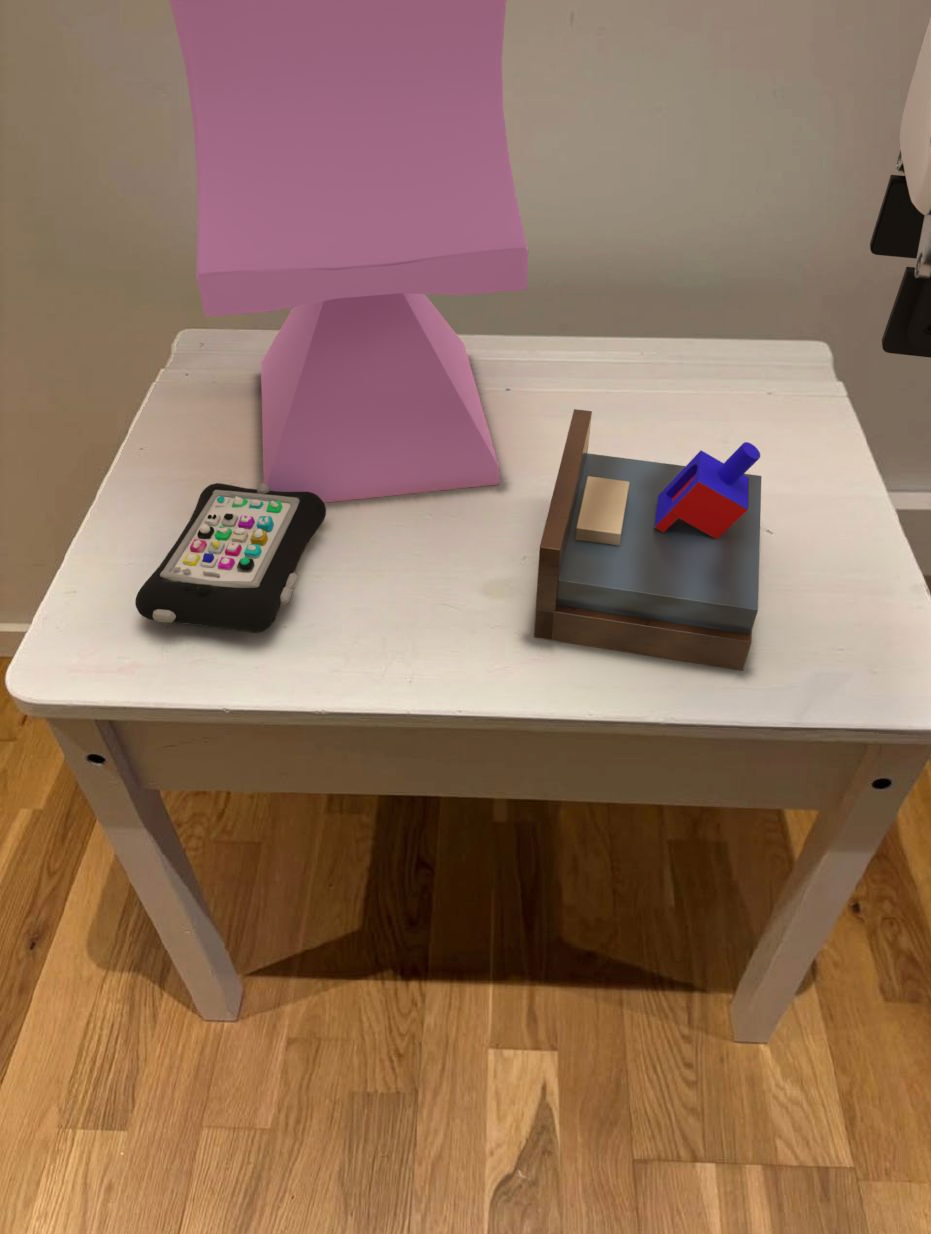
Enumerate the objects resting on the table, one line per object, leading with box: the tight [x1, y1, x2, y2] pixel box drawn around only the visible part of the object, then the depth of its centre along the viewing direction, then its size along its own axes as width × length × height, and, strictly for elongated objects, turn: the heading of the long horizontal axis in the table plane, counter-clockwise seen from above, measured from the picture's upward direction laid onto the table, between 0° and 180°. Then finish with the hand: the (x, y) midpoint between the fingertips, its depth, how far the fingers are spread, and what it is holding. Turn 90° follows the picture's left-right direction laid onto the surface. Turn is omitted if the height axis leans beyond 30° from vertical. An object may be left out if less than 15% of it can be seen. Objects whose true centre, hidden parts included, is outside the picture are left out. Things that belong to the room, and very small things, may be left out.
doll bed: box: [533, 408, 762, 671], centre depth 73 cm, size 15×16×9 cm
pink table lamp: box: [168, 0, 529, 504], centre depth 73 cm, size 22×22×45 cm
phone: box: [134, 482, 327, 634], centre depth 75 cm, size 11×15×4 cm
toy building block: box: [655, 441, 761, 539], centre depth 70 cm, size 4×4×8 cm
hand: (906, 300), depth 50 cm, fingers open, 9 cm apart
